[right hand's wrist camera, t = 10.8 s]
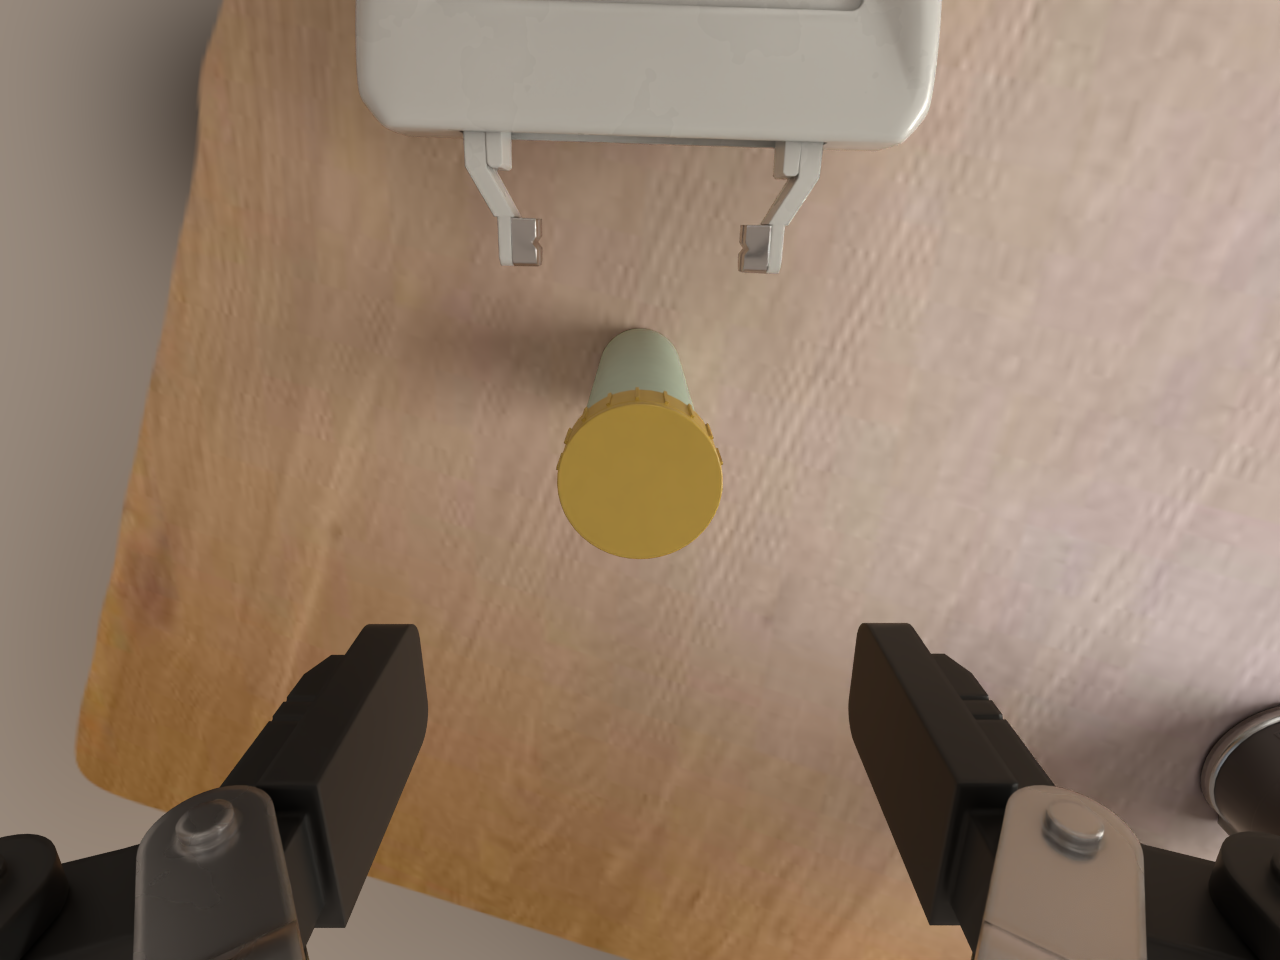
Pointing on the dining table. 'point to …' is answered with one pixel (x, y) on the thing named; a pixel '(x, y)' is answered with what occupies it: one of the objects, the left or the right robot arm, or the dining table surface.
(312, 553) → the dining table surface
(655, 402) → the lid
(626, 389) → the jar
